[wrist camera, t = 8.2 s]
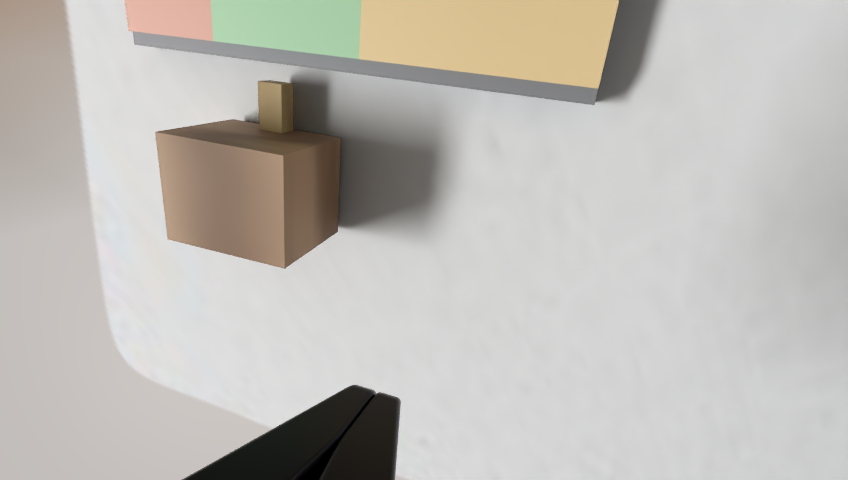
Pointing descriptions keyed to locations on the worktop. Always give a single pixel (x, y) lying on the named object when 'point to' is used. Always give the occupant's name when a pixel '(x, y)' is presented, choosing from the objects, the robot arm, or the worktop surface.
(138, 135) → the worktop surface
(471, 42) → the tuner gauge
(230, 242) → the block
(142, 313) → the worktop surface
